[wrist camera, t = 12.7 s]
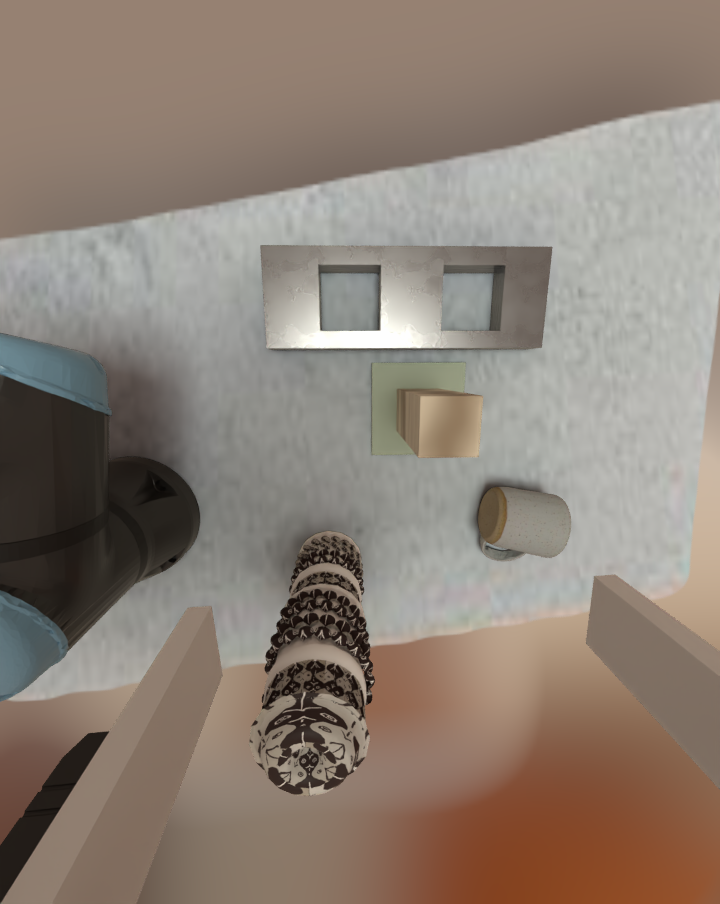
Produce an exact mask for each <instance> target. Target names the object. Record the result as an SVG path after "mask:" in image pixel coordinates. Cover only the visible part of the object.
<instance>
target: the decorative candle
mask: <svg viewBox="0 0 720 904" xmlns="http://www.w3.org/2000/svg"><path fill="white" fill-rule="evenodd" d="M297 557H298V560H297V561H296V562H295V563H296V568H295V569H294V571H293V573H294V575H293V576H292V578H291V581H292V584H291V586H290V588H289V591H290V593H291V594H290V599H289V600H288V601H287V604H286V605H285V607H284V608H283V609H282V610H281V612H280V614H281V616H282V619H281V620H280V621H278V622H277V625H276V627H277V630H278V632H277V633H276V634H274V635H273V636H272V637H271V644H272V647H271V648H270V650H268V651H267V653H266V661H267V662H268V663H267V664H266V666H265V672H266V673H267V674H268V678H267V682H266V686H265V692H264V694H263V696H262V703H263V706H262V711H261V713H260V714H259V716H258V717H257V718H256V720H255V721H254V723H253V725H252V726H251V733H250V742H249V746H250V748H251V751H252V753H253V755H254V758H255V761H256V763H257V764H258V765H259V766H260V767H262V769H264V770H265V773H266V775H267V777H268V778H269V779H270V780H271V781H272V782H273V783H274V784H275V785H276V786H277V787H278V788H280V789H282V790H284V791H286V792H289V793H291V794H294V795H303V796H313V795H318V794H322V793H326V792H328V791H330V790H332V789H333V788H335V787H337V786H338V785H340V784H341V783H342V782H343V781H344V779H345V778H346V777H347V775H349V774H351V773H353V772H354V771H355V770H356V768H357V767H358V766H359V765H360V763H361V762H362V761H363V759H364V758H365V757H366V754H367V750H368V745H369V740H370V736H369V733H368V730H367V726H366V721H365V704H366V705H368V704H369V703H371V701H372V692H371V690H370V688H371V687H372V686H373V685H374V682H375V679H374V676H373V675H372V673H371V672H372V669H373V664H372V662H371V661H370V660H369V656H370V644H369V643H368V638H369V634H368V632H367V631H366V629H365V628H366V620H365V616H364V612H363V608H362V605H361V602H362V598H361V595H362V594H363V592H364V587H363V586H362V585H363V579H362V577H363V570H362V568H363V565H362V563H361V560H362V559H361V555H360V551H359V547H358V546H357V545H356V544H355V542H354V541H353V540H352V539H351V538H350V537H348V536H346V535H344V534H342V533H341V532H333V531H325V532H321V533H316V534H315V535H313V536H312V537H310V538H309V539H307V540H306V541H305V543H304V544H303V546H302V548H301V549H300V551H299V554H298V556H297ZM273 658H274V660H273ZM362 669H364V670H363V671H364V674H363V671H362Z"/></svg>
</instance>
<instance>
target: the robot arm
mask: <svg viewBox="0 0 720 904" xmlns="http://www.w3.org/2000/svg"><path fill="white" fill-rule="evenodd" d="M109 416H112V411H111V409H110V408H109V406H108V390H107V375H106V372H105V370H104V368H103V366H102V365H101V364H100V362H99V361H97V360H96V359H95V358H93V357H92V356H90V355H88V354H86V353H83V352H80V351H76V350H72V349H68V348H64V347H60V346H56V345H52V344H47V343H43V342H39V341H34V340H30V339H26V338H21V337H17V336H12V335H8V334H3V333H0V702H1V701H3V700H6V699H8V698H10V697H12V696H14V695H15V694H17V693H19V692H21V691H22V690H24V689H25V688H27V687H28V686H29V685H30V684H31V683H33V682H34V681H35V680H36V679H37V678H38V677H39V676H40V675H42V674H43V673H44V672H45V671H46V670H47V669H48V668H49V667H51V666H53V665H54V664H56V663H58V662H60V661H61V660H62V659H63V658H64V657H65V655H66V654H67V652H68V651H69V650H70V649H71V648H72V646H73V645H74V644H75V643H76V642H77V641H78V640H79V639H80V638H81V637H82V636H83V635H84V634H85V633H86V632H87V631H88V630H89V629H90V628H91V627H92V626H93V625H94V624H95V623H96V622H97V621H98V620H99V619H100V618H101V617H102V616H103V615H104V614H105V613H106V612H107V611H108V610H109V609H110V608H111V607H112V606H113V605H114V604H115V603H116V602H117V601H118V600H119V599H120V598H121V597H122V596H123V595H124V594H125V593H126V592H127V591H128V590H129V589H130V588H131V587H132V586H133V585H134V584H135V583H138V582H140V581H142V580H145V579H147V578H149V577H152V576H154V575H156V574H159V573H161V572H163V571H165V570H167V569H168V568H170V567H172V566H173V565H174V564H176V563H177V562H178V561H179V560H180V559H181V558H182V557H183V556H184V555H185V553H186V552H187V551H188V550H189V549H190V548H191V546H192V545H193V543H194V541H195V539H196V537H197V534H198V530H199V523H200V516H199V509H198V505H197V502H196V499H195V497H194V495H193V493H192V491H191V489H190V488H189V486H188V485H187V484H186V483H185V481H184V480H183V479H182V478H181V477H180V476H179V475H178V474H176V473H175V472H174V471H172V470H171V469H170V468H168V467H166V466H165V465H163V464H161V463H158V462H156V461H153V460H150V459H146V458H141V457H121V458H116V459H112V460H109ZM586 644H587V645H588V646H589V647H590V648H591V649H592V650H593V651H594V652H595V654H596V655H597V656H598V657H599V658H600V659H601V660H602V661H603V662H604V664H605V665H606V666H607V667H608V668H609V669H610V670H611V671H612V672H613V673H614V674H615V676H616V677H617V678H618V679H619V680H620V681H621V682H622V683H623V684H624V685H625V686H626V687H627V689H628V690H629V691H630V692H631V693H632V694H633V695H634V696H635V697H636V699H637V700H639V702H640V703H641V704H642V705H643V706H644V707H645V708H646V709H647V710H648V711H649V713H650V714H651V715H652V716H653V717H654V718H655V719H656V720H657V721H658V723H659V724H660V725H661V726H662V727H663V728H664V729H665V730H666V731H667V732H668V733H669V735H670V736H671V737H672V738H673V739H674V740H675V741H676V742H677V743H678V744H679V746H680V747H681V748H682V749H683V750H684V751H685V752H686V753H687V754H688V755H689V756H690V758H691V759H692V760H693V761H694V762H695V763H696V764H697V765H698V766H699V767H700V769H701V770H702V771H703V772H704V773H705V774H706V775H707V776H708V777H709V778H710V779H711V781H712V782H713V783H714V784H715V785H716V786H717V787H718V788H719V789H720V651H719V650H717V649H716V648H715V647H713V646H712V645H711V644H709V643H708V642H706V641H705V640H704V639H702V638H701V637H700V636H698V635H697V634H695V633H694V632H693V631H691V630H690V629H689V628H687V627H686V626H685V625H683V624H682V623H681V622H679V621H678V620H676V619H675V618H674V617H672V616H671V615H670V614H668V613H667V612H666V611H664V610H663V609H661V608H660V607H659V606H657V605H656V604H655V603H653V602H652V601H650V600H649V599H648V598H646V597H645V596H644V595H642V594H641V593H640V592H638V591H637V590H635V589H634V588H633V587H631V586H630V585H629V584H627V583H626V582H625V581H623V580H622V579H620V578H619V577H618V576H616V575H605V576H594V582H593V590H592V598H591V606H590V614H589V622H588V630H587V638H586ZM221 678H222V669H221V662H220V656H219V650H218V644H217V638H216V631H215V625H214V619H213V613H212V607H211V606H205V607H192V608H187V610H186V611H185V613H184V614H183V616H182V618H181V619H180V621H179V622H178V624H177V625H176V627H175V629H174V630H173V632H172V633H171V635H170V637H169V638H168V640H167V641H166V643H165V644H164V646H163V648H162V649H161V651H160V652H159V654H158V655H157V657H156V659H155V660H154V662H153V663H152V665H151V667H150V668H149V670H148V671H147V673H146V674H145V676H144V678H143V679H142V681H141V682H140V684H139V686H138V687H137V689H136V690H135V692H134V693H133V695H132V697H131V698H130V700H129V701H128V703H127V704H126V706H125V708H124V709H123V711H122V712H121V714H120V716H119V717H118V719H117V720H116V722H115V723H114V725H113V727H112V728H111V730H110V731H109V732H97V733H89V734H87V735H86V736H85V737H84V738H83V739H82V740H81V741H80V742H79V743H78V744H77V745H76V746H75V747H73V748H72V749H71V750H70V751H69V752H68V753H67V754H66V755H65V756H64V757H63V758H62V759H61V761H60V763H59V764H58V765H57V766H56V768H55V769H54V771H53V772H52V773H51V775H50V776H49V778H48V779H47V780H46V782H45V783H44V785H43V786H42V790H41V792H38V793H37V795H36V796H35V797H34V799H33V800H32V802H31V803H30V804H29V806H28V807H27V809H26V810H25V813H24V816H23V817H22V818H20V819H19V820H18V821H17V823H16V824H15V825H14V827H13V828H12V830H11V831H10V833H9V834H8V835H7V837H6V838H5V840H4V841H3V842H2V844H1V845H0V904H136V903H137V900H138V897H139V895H140V892H141V889H142V887H143V884H144V881H145V879H146V876H147V873H148V871H149V868H150V866H151V863H152V860H153V858H154V855H155V852H156V850H157V847H158V844H159V842H160V839H161V837H162V834H163V831H164V829H165V826H166V823H167V820H168V818H169V815H170V813H171V810H172V807H173V805H174V802H175V799H176V797H177V794H178V792H179V789H180V786H181V784H182V781H183V778H184V776H185V773H186V770H187V768H188V765H189V762H190V759H191V757H192V754H193V752H194V749H195V747H196V744H197V741H198V738H199V736H200V733H201V731H202V728H203V725H204V723H205V720H206V717H207V715H208V712H209V709H210V707H211V704H212V702H213V699H214V696H215V693H216V691H217V688H218V686H219V683H220V680H221Z"/></svg>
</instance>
